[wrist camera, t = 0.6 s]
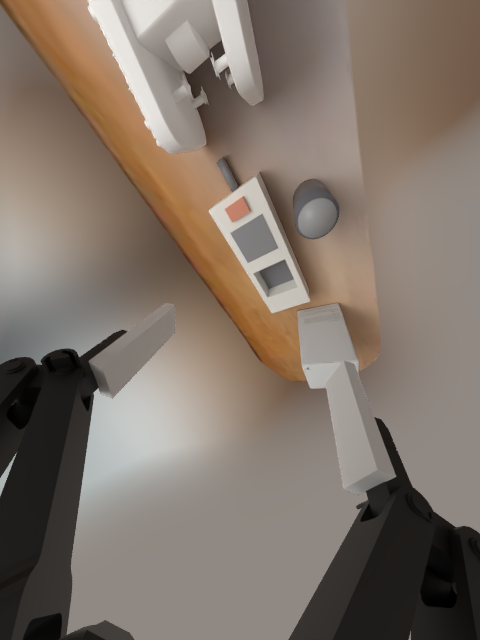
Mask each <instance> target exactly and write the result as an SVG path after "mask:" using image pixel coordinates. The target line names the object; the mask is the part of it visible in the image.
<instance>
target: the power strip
mask: <svg viewBox="0 0 480 640" xmlns="http://www.w3.org/2000/svg"><path fill="white" fill-rule="evenodd" d="M217 164H218V166H219V168H220V170H221V172H222V174H223V176H224V178H225V180H226V182H227V183H228V185H229V187H230V189H231V191H232V192H231V193H230V194H229V195H227V196H226V197H224V198H223V199H222V200H220V201H219V202H218V203H216V204H215V205H214V206H213V207H212V208H211V209H210V210H209V213H210V214H211V216H212V218H213V219H214V221H215V223H216V224H217V226H218V227H219V229H220V231H221V232H222V234H223V235H224V237H225V239H226V240H227V242H228V244H229V245H230V247H231V248H232V250H233V252H234V253H235V255H236V256H237V258H238V260H239V261H240V263H241V264H242V266H243V268H244V269H245V271H246V273H247V274H248V276H249V277H250V279H251V281H252V282H253V284H254V285H255V287H256V289H257V290H258V292H259V294H260V295H261V297H262V298H263V300H264V302H265V303H266V305H267V306H268V308H269V310H270V311H271V313H275V312H278V311H281V310H284V309H287V308H291V307H294V306H297V305H300V304H303V303H306V302H310V295H309V289H308V286H307V283H306V281H305V279H304V276H303V274H302V272H301V269H300V267H299V265H298V262H297V260H296V257H295V255H294V253H293V250H292V248H291V246H290V243H289V241H288V239H287V236H286V234H285V231H284V229H283V227H282V224H281V222H280V220H279V217H278V215H277V213H276V210H275V208H274V206H273V203H272V201H271V198H270V196H269V194H268V191H267V189H266V187H265V184H264V182H263V180H262V177H261V175H260V172H258V173H257V174H256V175H254V176H253V177H252V178H250V179H249V180H248V181H246V182H245V183H243V184H242V185H241V186H239V187H238V185H237V183H236V181H235V179H234V177H233V175H232V173H231V171H230V169H229V167H228V165H227V163H226V161H225V159H224V157H223V158H221V159H220V160H219V161H218V162H217Z"/></svg>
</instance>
